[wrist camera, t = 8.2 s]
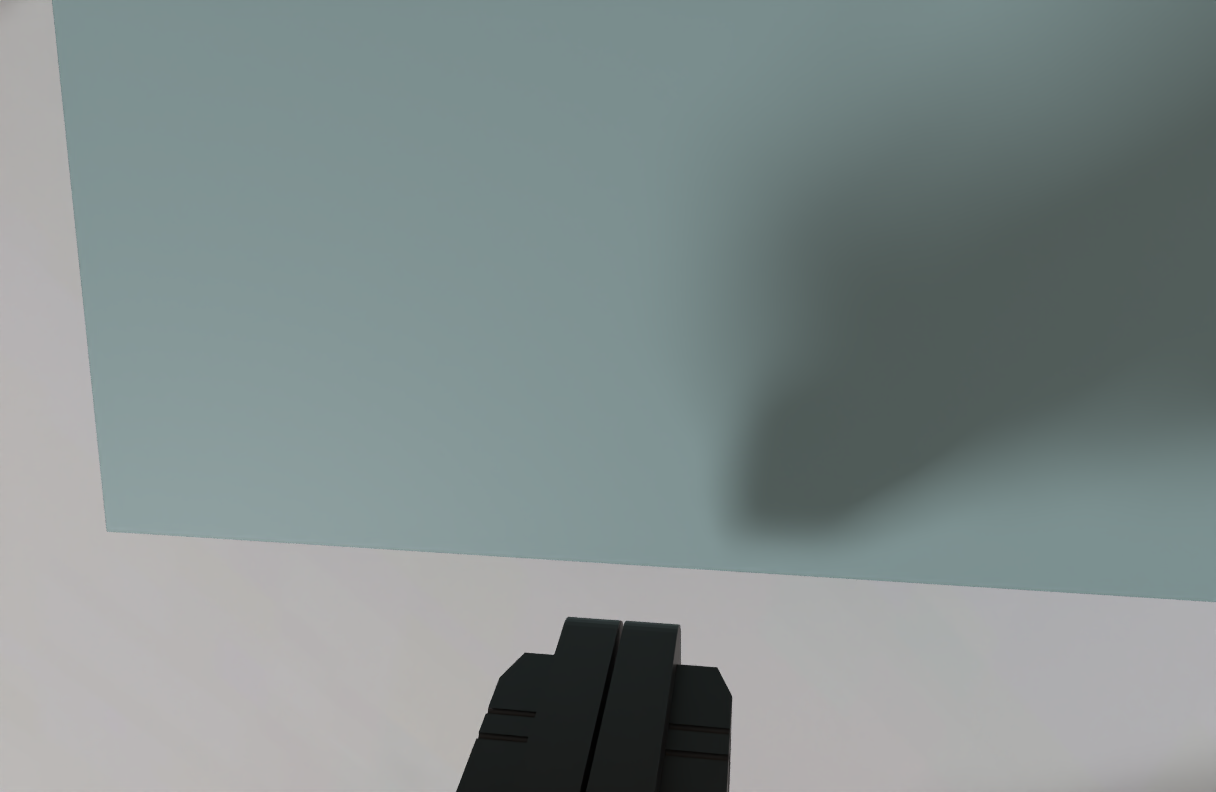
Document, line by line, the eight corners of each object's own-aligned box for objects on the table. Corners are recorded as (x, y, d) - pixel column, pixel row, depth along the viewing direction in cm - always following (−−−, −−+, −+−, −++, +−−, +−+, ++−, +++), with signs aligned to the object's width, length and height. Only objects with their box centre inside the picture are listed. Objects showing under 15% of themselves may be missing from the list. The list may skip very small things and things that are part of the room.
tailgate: (24, -261, 15) (106, 531, 17) (1438, -356, 12) (1286, 605, 15) (78, -228, 16) (147, 510, 19) (1378, -309, 13) (1247, 575, 16)
